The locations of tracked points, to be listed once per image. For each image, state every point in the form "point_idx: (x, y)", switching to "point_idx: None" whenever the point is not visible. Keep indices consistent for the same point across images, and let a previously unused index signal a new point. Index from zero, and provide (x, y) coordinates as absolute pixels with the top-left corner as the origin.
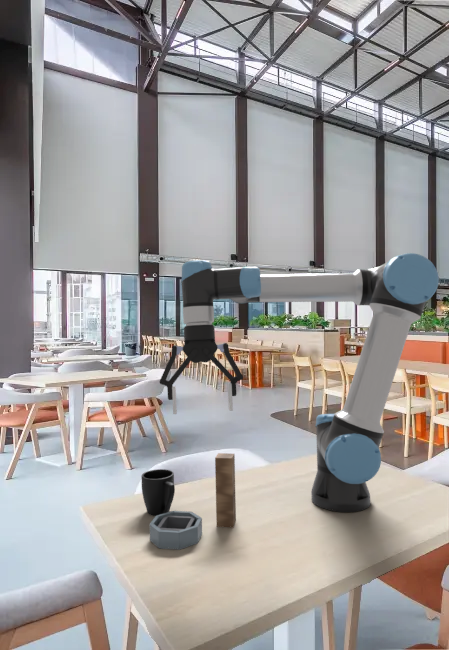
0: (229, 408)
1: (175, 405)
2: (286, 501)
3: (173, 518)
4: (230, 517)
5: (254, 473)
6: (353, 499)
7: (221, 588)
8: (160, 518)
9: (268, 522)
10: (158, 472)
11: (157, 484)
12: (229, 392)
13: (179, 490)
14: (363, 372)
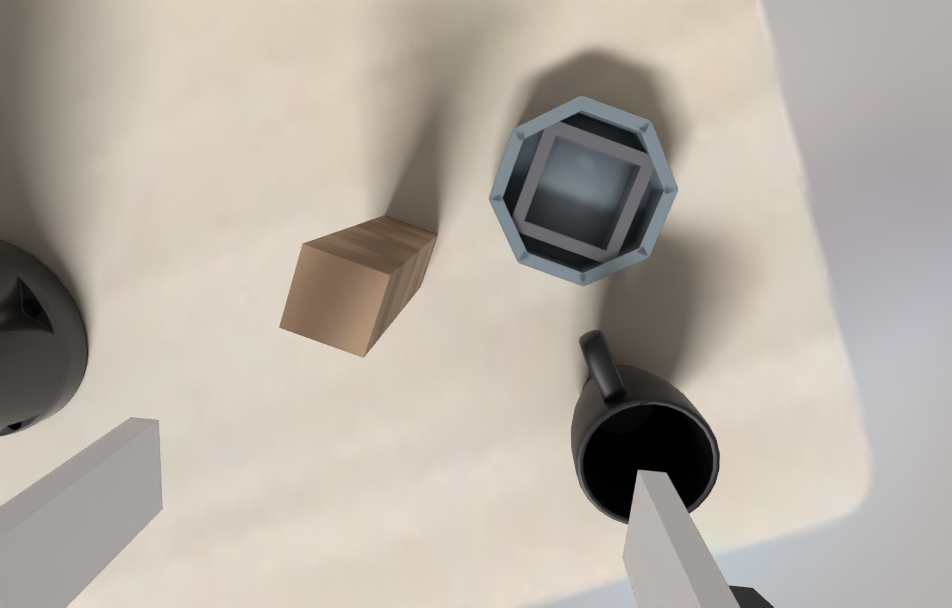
0: (149, 446)
1: (665, 515)
2: (173, 375)
3: (585, 243)
4: (385, 221)
5: None
6: None
7: None
8: (632, 248)
9: (265, 229)
10: None
11: (650, 390)
12: (20, 517)
13: (528, 560)
14: None
